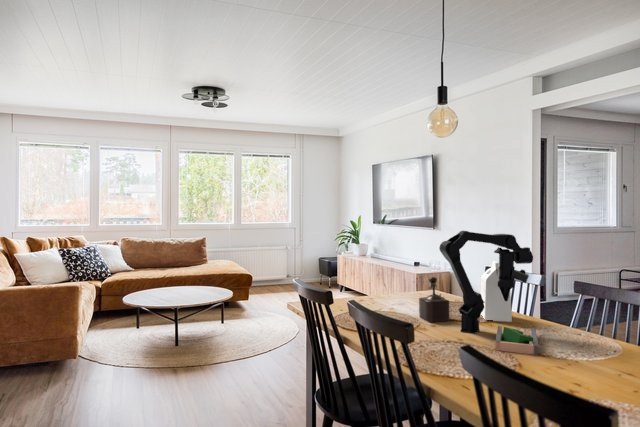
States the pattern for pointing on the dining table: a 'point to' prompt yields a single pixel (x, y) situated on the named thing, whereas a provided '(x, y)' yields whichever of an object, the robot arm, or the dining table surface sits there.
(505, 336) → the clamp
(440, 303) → the dark brown stamp
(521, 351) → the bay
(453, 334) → the dining table surface
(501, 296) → the milk
